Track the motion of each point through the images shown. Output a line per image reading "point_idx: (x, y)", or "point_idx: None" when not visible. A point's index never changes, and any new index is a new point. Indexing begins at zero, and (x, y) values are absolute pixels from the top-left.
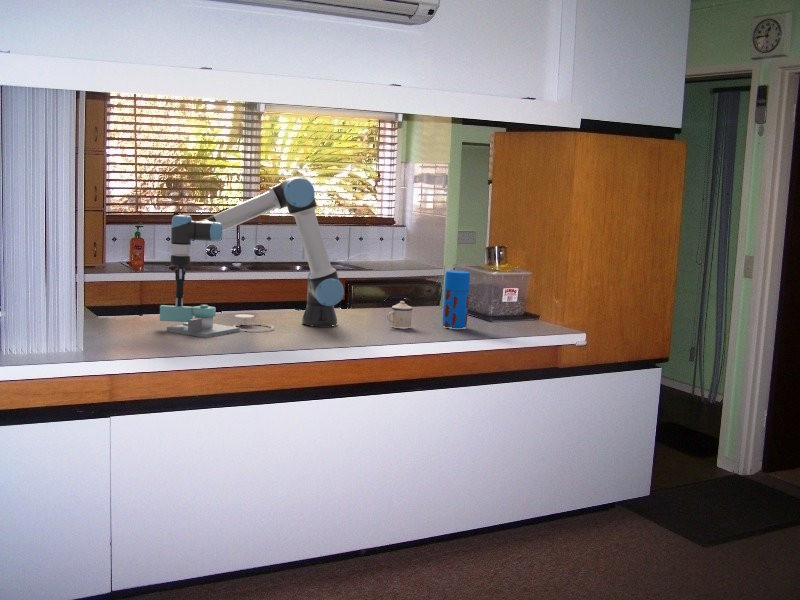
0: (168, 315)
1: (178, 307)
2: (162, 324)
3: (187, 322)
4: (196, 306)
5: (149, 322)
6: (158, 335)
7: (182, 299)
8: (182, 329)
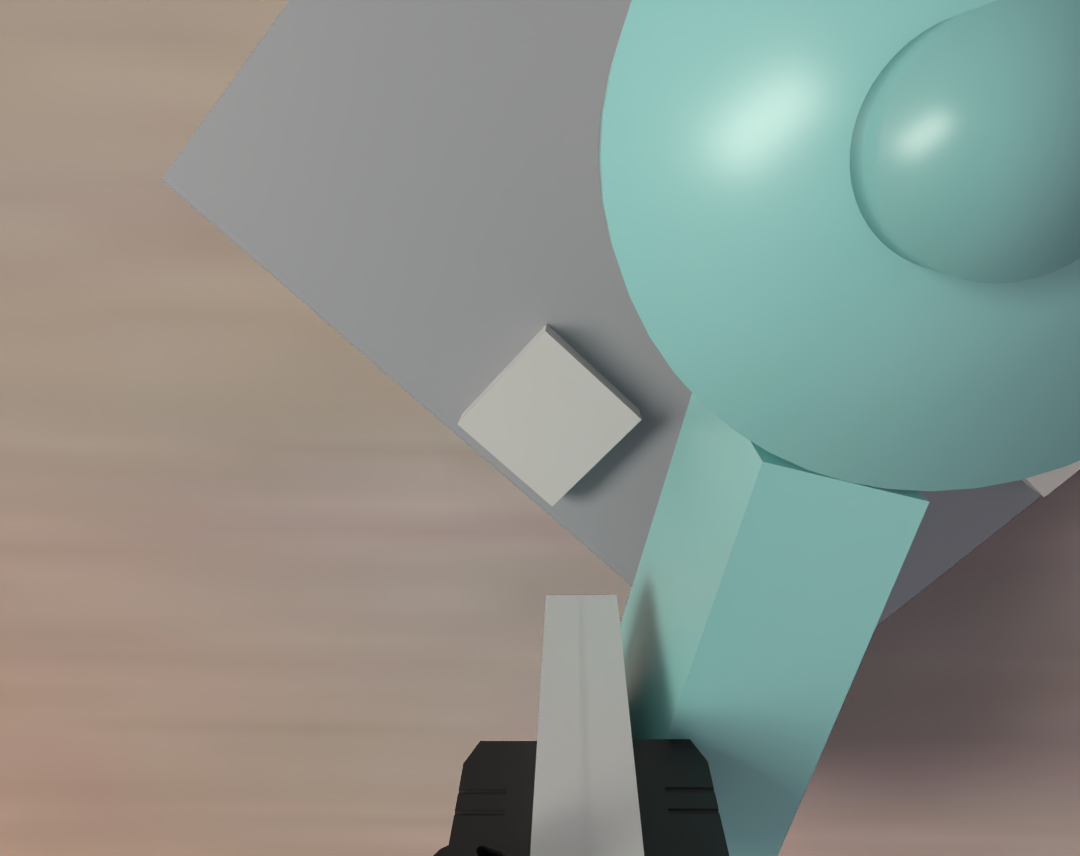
0: None
1: (799, 785)
2: (234, 708)
3: (489, 431)
4: (705, 373)
5: (118, 839)
6: (1070, 764)
7: (639, 845)
8: (975, 505)
